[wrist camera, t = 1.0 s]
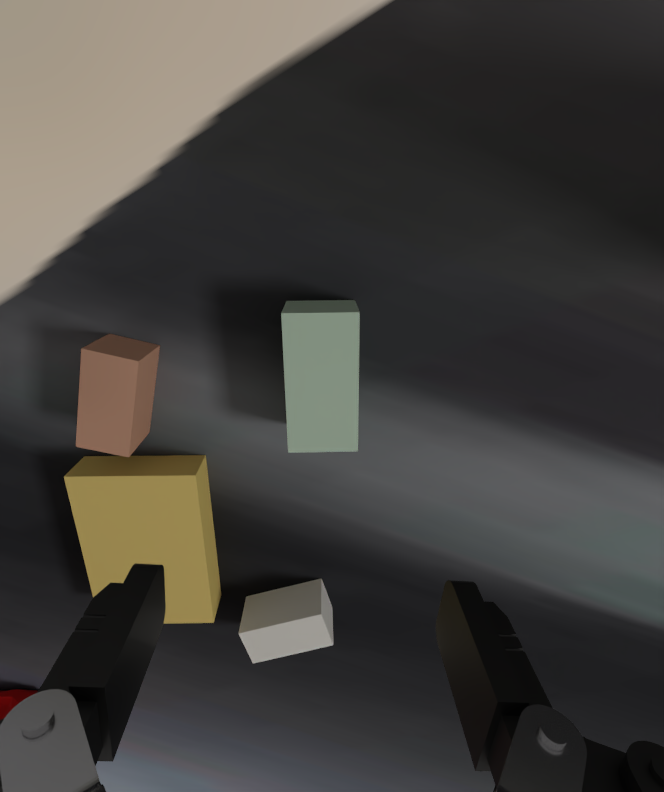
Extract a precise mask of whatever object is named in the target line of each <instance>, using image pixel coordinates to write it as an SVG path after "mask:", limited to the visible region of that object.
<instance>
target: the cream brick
mask: <svg viewBox="0 0 664 792" xmlns="http://www.w3.org/2000/svg"><path fill="white" fill-rule="evenodd" d="M239 636H240V638H241V640H242V642H243V644H244V646H245V648H246V650H247V652H248V654H249V656H250V658H251V660H252V662H253V663H257V662H262V661H266V660H270V659H275V658H279V657H284V656H288V655H292V654H297V653H301V652H305V651H310V650H314V649H318V648H323V647H327V646H332V645H333V613H332V605H331V603H330V600H329V597H328V595H327V592H326V589H325V587H324V584H323V581H322V579H317V580H313V581H309V582H305V583H300V584H296V585H292V586H288V587H284V588H280V589H275V590H271V591H267V592H263V593H259V594H255V595H250V596H246V600H245V604H244V609H243V614H242V619H241V624H240V629H239Z"/></svg>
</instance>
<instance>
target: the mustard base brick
mask: <svg viewBox="0 0 664 792" xmlns="http://www.w3.org/2000/svg"><path fill="white" fill-rule="evenodd" d="M64 480H65V484H66V488H67V492H68V496H69V500H70V504H71V508H72V513H73V517H74V521H75V525H76V529H77V533H78V537H79V541H80V545H81V549H82V554H83V558H84V562H85V566H86V570H87V574H88V578H89V582H90V586H91V590H92V595H93V598H94V596H96V595H97V594H98V593H99V592H100V591H101V590H102V589H104V588H105V587H106V586H107V585H108V584H109V583H123V582H124V581H125V579H126V577H127V575H128V573H129V571H130V569H131V567H132V566H133V565H134V564H135V563H138V564H157V565H163V567H164V578H165V604H166V609H165V618H164V623H214V620H215V616H216V612H217V609H218V605H219V601H220V598H221V588H220V579H219V570H218V561H217V552H216V543H215V534H214V525H213V516H212V508H211V499H210V490H209V481H208V472H207V463H206V455H174V456H130V457H124V456H84V457H83V458H82V459H81V460H80V461H79V462H78V463H77V464H76V465H75V466H74V467H73V468H72V469H71V470H70V471H69V472H68V473H67V474H66V475H65V476H64Z"/></svg>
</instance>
